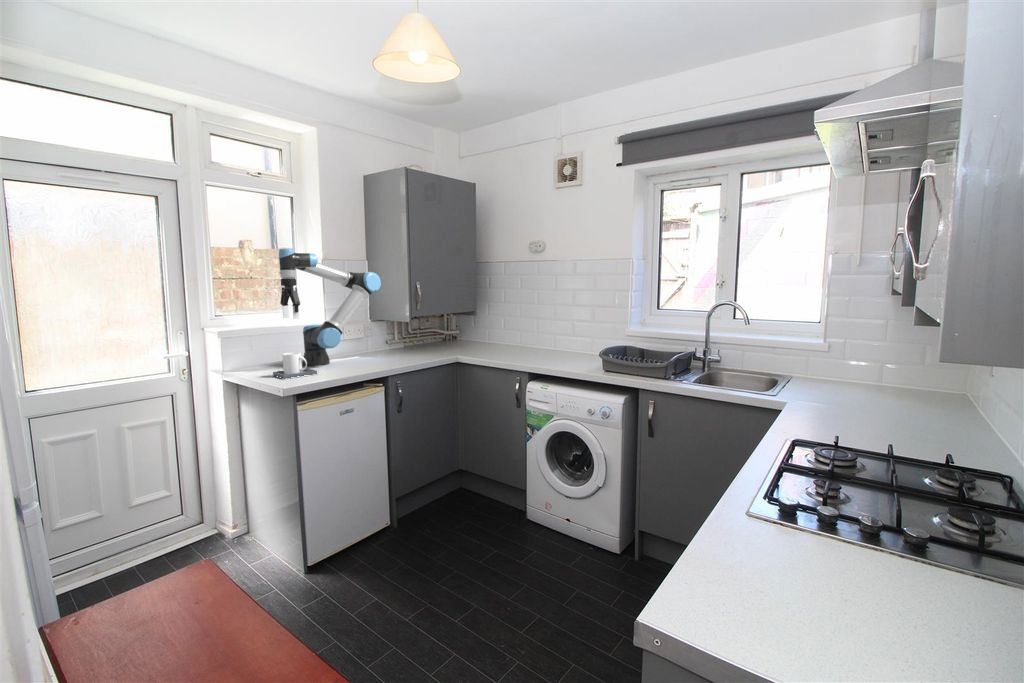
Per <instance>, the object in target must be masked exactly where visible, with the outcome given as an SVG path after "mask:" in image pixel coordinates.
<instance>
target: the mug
mask: <svg viewBox="0 0 1024 683" xmlns="http://www.w3.org/2000/svg"><path fill="white" fill-rule="evenodd" d="M302 360H304V361H305V362H306V360H305V358H304V357H303V356H302V353H301V352H297V351H295V352H285V353H282V367H283V371H284V375H288V374H295V373H302V371H304V370H305V369H306V368H308V366H307V362H306V366H304V367H303V365H302Z"/></svg>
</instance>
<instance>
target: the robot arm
mask: <svg viewBox="0 0 1024 683" xmlns="http://www.w3.org/2000/svg"><path fill="white" fill-rule="evenodd" d="M278 261H279V263H278V264H279V275H280V278H281V279H280V286H282V287H281V296H280V303H279V304H280V305H281V306H282V317H283V319H287V318H290V314H289V313H290V312H289V304H288V303H289V299H290V301H291V303H292V305H291V306H292V314H293V316H292V317H293V319H294V320H297V319H298V320H299V319H300V308H299V306H300V305H301V301H300V297H299V293H298V288H297V279H296V278H297V272H296V270H299V271H301V272H305V273H307V274H308V273H309V274H310V275H311V274H312V275H314V276H318V277H320V278H323V279H326V280H330V281H332V282H335V283H338V284H340V285H341V286H342V287H345V288H348V289H350V290H351V292H349V294H348V295H347V296H346V298H345V299H344V301H343V302H342V303H341V304H340V306H339V307H338V308H337V310H336V311H335V312H334V314H332V316H331V317H330V319H329V320H324V322H323V323H322V324H311V325H305V326H303V328H302V334H303V335H302V336H303V347H304V348H303V349H304V353H303V356H302V357H304V358H305V360H306V362H307V367H316V366H315V365H319V366H324V365H325V364H326V365H328V364H331V360H330V357H329V355H328V352H327V349H335V348H337V346H338V345H339V344H340V343H341V340H342V338H341V337H342V335H343V333H344V331H343V329H344V327H345V326H346V324H347V323H348V322H349V320H350V319H351V318H352V316H353V315H354V314H355V313H356V312H357V310H358V309H359V307H360V306H361V304H362V303H363V302H364V300H365V299H368V298H370V297H371V295H373V293H375V292H377V291H379V290H380V288H381V286H382V283H381V278H380V277H379V275H378V274H377V273H375V272H374V271H373V272H372V271H365V272H353V271H348V270H345V271H343V270H341V269H337V268H336V267H332V266H330V265H326V264H324V263H321V262H318V261H319V260H318V256H317V255H316V254H315V253H311V252H309V253H307V252H305V253H304V252H303V253H302V252H301V253H300V252H299V253H298V252H295V250H294V249H293V248H280V249H278ZM306 362H305V361H304V360H301V364H302V366H303V365H304V367H305V366H306Z"/></svg>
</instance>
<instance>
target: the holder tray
mask: <svg viewBox="0 0 1024 683" xmlns="http://www.w3.org/2000/svg"><path fill="white" fill-rule="evenodd" d="M312 374H317V375H318V370H316V369H311V368H308V367H306V369H305V370H304V371H302V373H295V374H288V375H284V370H278V371H273V372H272V376H273V375H274V376H273V377H275V376H278V377H281V378H280V379H282V378H284V379H283V380H286V379H285V378H290V379H292V378H291V377H297V376H304V375H311V376H313V375H312ZM278 377H277V378H278ZM304 377H305V376H304ZM297 378H298V377H297Z"/></svg>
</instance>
